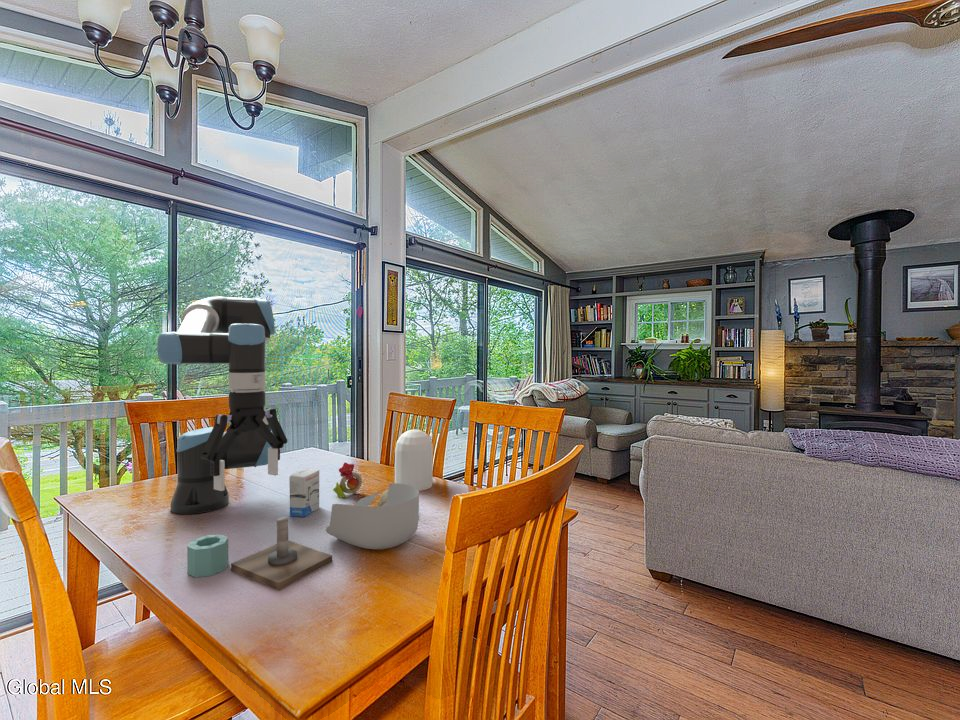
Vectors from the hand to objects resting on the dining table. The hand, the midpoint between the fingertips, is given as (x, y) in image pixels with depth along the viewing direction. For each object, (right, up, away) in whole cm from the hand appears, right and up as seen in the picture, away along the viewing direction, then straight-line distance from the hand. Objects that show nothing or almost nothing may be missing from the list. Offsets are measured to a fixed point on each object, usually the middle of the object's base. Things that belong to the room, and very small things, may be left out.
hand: (247, 481), depth 105 cm
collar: (-6, -18, -5) cm, 19 cm away
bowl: (+28, -18, +11) cm, 35 cm away
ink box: (+2, -17, +29) cm, 34 cm away
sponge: (+28, -17, +29) cm, 44 cm away
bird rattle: (+10, -17, +44) cm, 48 cm away
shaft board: (+10, -18, -4) cm, 21 cm away
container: (+31, -17, +56) cm, 66 cm away
